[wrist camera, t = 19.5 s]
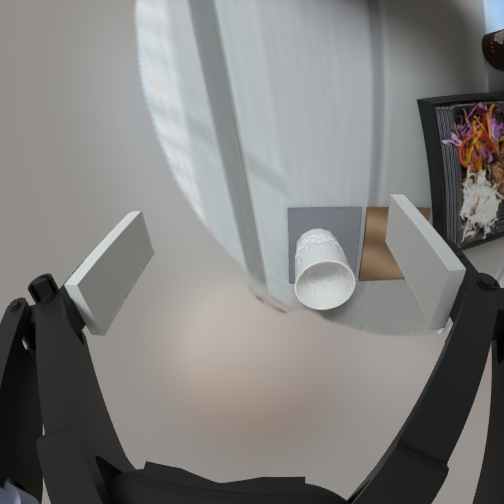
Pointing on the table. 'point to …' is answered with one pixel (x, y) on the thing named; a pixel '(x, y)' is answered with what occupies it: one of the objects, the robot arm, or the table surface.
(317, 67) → the table surface
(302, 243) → the white cup
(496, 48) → the coffee mug
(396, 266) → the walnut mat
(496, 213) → the food platter
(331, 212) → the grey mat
